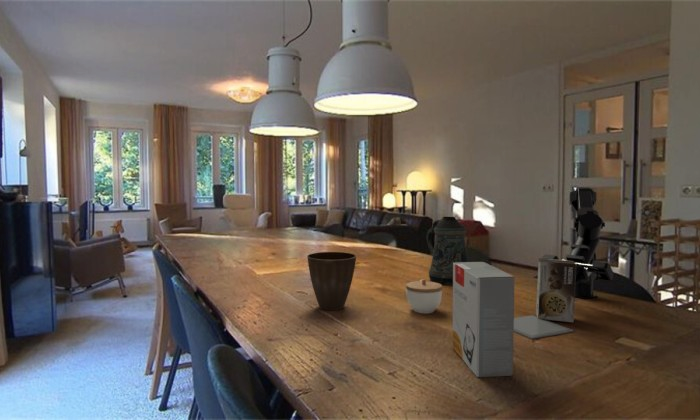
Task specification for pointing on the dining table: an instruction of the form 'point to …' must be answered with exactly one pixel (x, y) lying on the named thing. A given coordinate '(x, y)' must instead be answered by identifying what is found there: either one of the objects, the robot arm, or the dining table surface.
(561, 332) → the tile
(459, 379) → the dining table surface
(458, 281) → the hard drive box
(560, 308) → the coffee box
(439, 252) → the beer stein
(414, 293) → the lidded jar
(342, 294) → the plant pot
